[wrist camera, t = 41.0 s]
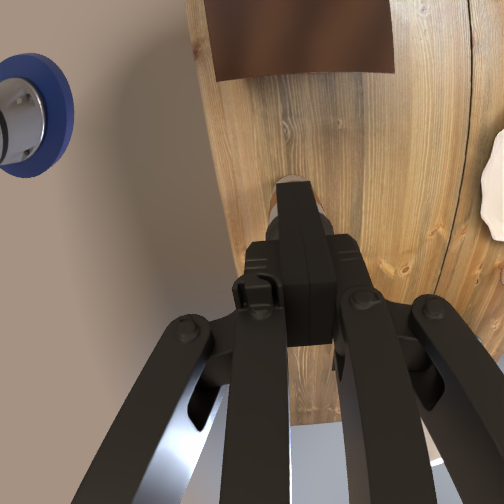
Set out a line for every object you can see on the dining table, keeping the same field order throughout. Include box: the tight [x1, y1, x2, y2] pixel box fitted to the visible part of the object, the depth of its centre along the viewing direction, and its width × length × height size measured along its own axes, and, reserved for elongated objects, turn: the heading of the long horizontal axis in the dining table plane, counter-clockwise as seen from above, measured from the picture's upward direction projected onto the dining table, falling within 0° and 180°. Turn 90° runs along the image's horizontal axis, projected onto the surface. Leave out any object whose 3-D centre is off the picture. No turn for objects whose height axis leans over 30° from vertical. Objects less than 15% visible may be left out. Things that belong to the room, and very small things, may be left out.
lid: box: [204, 0, 395, 82], centre depth 23 cm, size 18×14×1 cm
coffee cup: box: [266, 175, 334, 241], centre depth 43 cm, size 8×8×15 cm
